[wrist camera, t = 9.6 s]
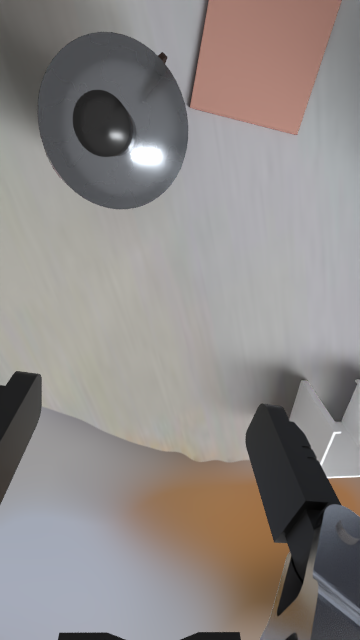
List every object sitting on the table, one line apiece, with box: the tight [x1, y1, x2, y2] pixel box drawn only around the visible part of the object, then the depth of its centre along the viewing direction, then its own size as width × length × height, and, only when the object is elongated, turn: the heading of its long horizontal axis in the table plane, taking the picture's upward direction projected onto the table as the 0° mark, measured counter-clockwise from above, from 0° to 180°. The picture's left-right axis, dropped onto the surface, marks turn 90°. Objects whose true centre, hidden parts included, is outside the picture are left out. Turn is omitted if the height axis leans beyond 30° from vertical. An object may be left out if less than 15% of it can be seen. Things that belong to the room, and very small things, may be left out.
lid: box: [38, 32, 188, 209], centre depth 20 cm, size 11×11×7 cm
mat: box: [190, 0, 342, 135], centre depth 28 cm, size 12×12×1 cm
